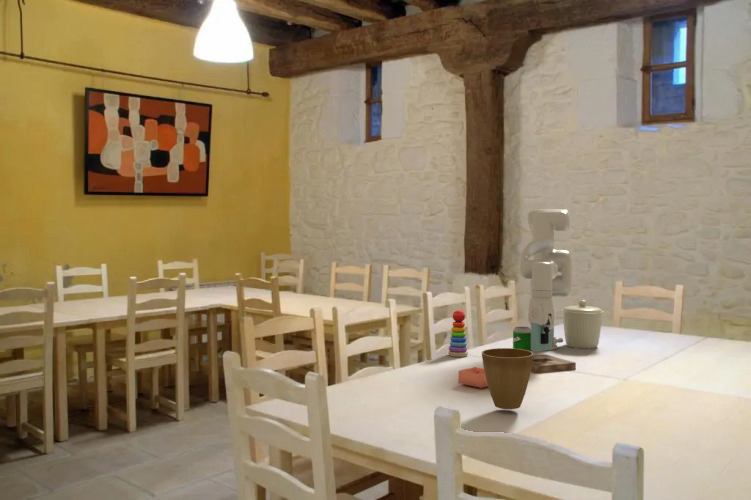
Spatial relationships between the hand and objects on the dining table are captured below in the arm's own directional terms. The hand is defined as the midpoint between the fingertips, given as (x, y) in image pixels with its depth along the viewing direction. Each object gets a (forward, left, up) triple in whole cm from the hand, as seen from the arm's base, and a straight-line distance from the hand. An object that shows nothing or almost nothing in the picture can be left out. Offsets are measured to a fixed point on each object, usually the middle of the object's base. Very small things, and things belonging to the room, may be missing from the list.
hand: (541, 342), depth 259 cm
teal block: (0, 0, -3) cm, 3 cm away
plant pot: (+45, +44, -9) cm, 64 cm away
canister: (-42, -27, -9) cm, 51 cm away
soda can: (-5, -19, -9) cm, 22 cm away
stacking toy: (+18, -31, -9) cm, 37 cm away
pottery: (+33, +13, -10) cm, 36 cm away
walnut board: (0, 0, -9) cm, 9 cm away
